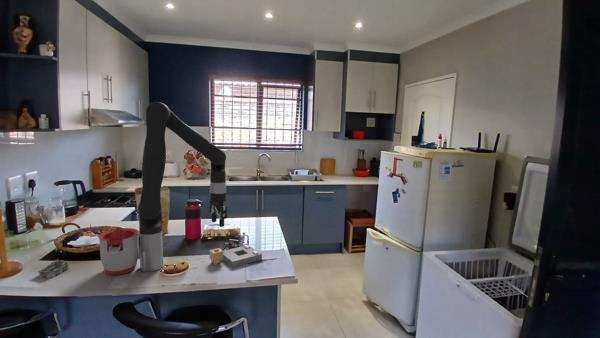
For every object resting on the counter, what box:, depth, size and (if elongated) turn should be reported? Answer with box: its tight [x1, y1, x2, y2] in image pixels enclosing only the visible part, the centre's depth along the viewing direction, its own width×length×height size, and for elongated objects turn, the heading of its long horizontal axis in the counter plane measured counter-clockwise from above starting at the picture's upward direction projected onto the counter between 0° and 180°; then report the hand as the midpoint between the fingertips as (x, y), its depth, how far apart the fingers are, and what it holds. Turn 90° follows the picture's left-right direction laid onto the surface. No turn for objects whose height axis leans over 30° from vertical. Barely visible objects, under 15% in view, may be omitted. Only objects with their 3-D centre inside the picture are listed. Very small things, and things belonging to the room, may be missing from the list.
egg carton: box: [37, 258, 71, 279], centre depth 139 cm, size 11×8×4 cm
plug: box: [209, 247, 224, 266], centre depth 153 cm, size 5×4×7 cm
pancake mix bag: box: [134, 186, 171, 235], centre depth 189 cm, size 7×19×28 cm, turn 104°
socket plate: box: [222, 244, 263, 269], centre depth 159 cm, size 16×14×4 cm
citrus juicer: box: [98, 226, 140, 276], centre depth 142 cm, size 16×17×20 cm
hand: (217, 224), depth 153 cm, fingers open, 8 cm apart
